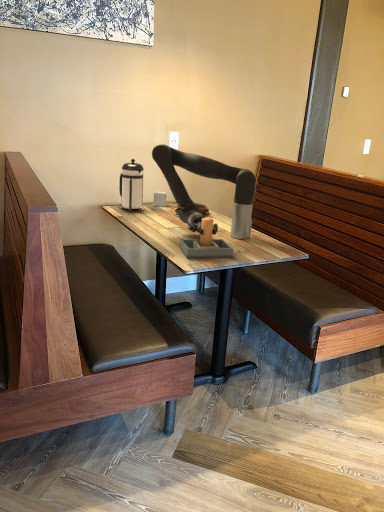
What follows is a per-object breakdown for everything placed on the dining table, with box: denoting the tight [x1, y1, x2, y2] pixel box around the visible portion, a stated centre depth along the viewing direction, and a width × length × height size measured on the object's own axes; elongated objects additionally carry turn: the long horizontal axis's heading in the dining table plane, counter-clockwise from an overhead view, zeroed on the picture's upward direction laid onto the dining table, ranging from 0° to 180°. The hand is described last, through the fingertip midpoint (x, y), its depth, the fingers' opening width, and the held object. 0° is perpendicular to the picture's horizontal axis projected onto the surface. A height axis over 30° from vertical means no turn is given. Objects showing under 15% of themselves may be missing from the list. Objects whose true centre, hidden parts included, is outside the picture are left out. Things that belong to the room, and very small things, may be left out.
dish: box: [174, 202, 210, 215], centre depth 252 cm, size 18×22×5 cm
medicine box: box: [152, 191, 167, 208], centre depth 266 cm, size 8×4×9 cm, turn 92°
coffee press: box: [118, 158, 145, 213], centre depth 248 cm, size 17×16×30 cm
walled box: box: [179, 238, 234, 259], centre depth 182 cm, size 20×14×4 cm
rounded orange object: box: [199, 217, 214, 247], centre depth 179 cm, size 5×5×12 cm
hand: (208, 232), depth 177 cm, fingers closed on rounded orange object, 5 cm apart
